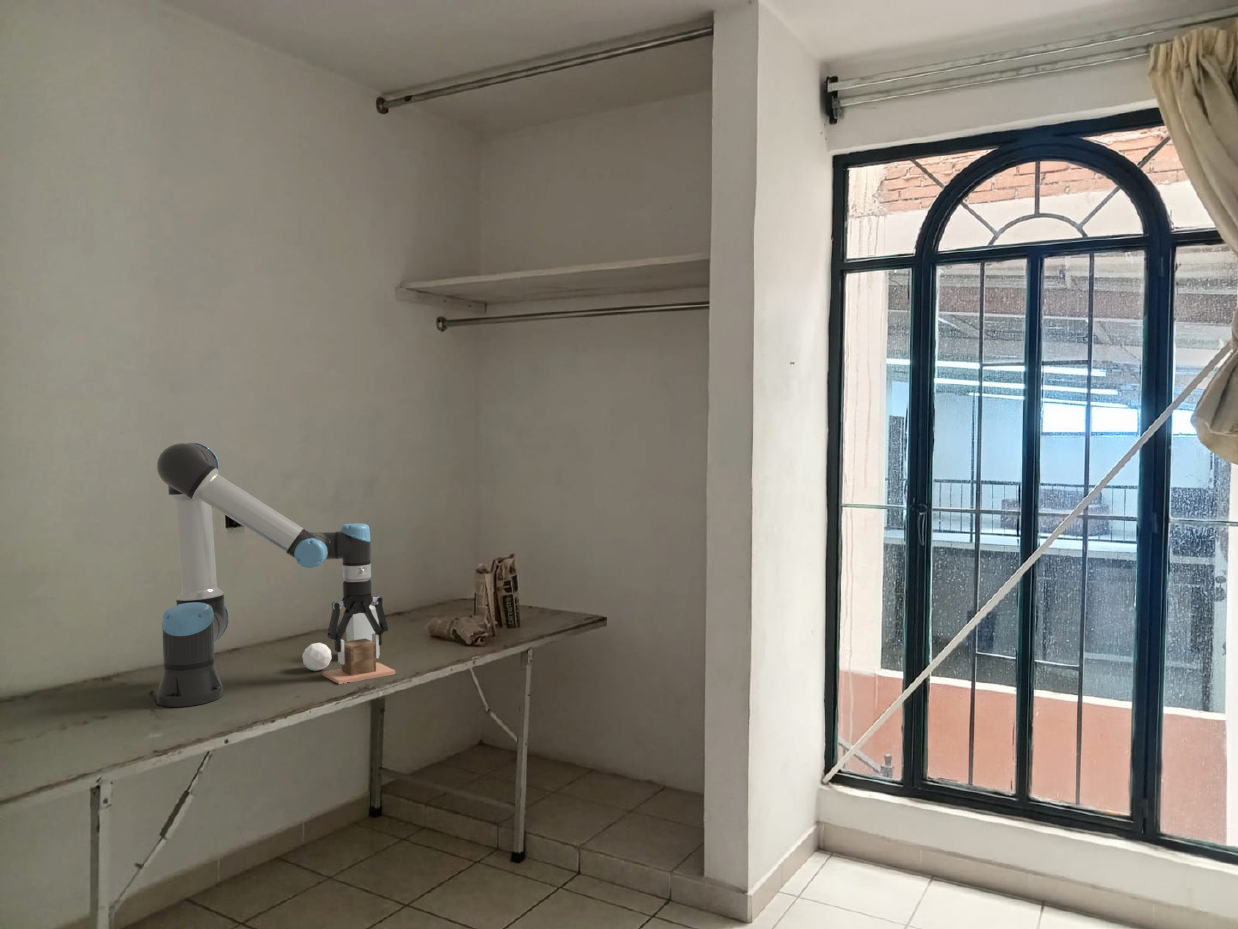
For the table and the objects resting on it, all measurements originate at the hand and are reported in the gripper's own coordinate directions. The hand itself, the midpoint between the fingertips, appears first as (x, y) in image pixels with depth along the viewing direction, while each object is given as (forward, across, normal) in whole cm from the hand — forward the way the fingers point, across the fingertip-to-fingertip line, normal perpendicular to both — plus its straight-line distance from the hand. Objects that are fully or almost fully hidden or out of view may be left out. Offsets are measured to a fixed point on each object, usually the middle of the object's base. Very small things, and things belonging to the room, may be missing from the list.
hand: (358, 660), depth 250 cm
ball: (+4, -7, +13) cm, 15 cm away
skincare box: (+4, +9, +19) cm, 21 cm away
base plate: (+4, 0, 0) cm, 4 cm away
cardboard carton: (+3, 0, 0) cm, 3 cm away
